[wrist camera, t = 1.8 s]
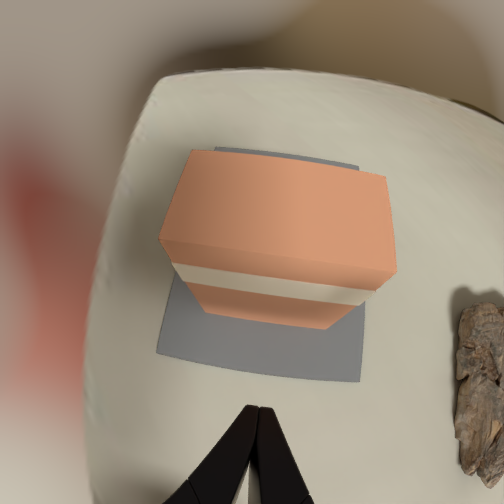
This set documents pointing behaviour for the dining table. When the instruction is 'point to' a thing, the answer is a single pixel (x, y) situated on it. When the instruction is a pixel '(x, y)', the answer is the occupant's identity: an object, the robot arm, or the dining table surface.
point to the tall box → (279, 237)
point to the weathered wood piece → (481, 392)
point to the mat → (262, 332)
